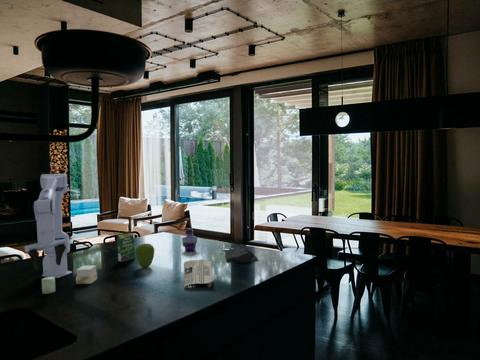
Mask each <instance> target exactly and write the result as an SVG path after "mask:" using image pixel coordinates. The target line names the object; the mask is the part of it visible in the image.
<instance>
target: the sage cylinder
mask: <svg viewBox="0 0 480 360" xmlns="http://www.w3.org/2000/svg"><path fill="white" fill-rule="evenodd" d="M41 292H42V294H44V295H46V294H48V295H49V294H52V293H55V292H56V278H55V277H46V276H45V277H44V278H41Z"/></svg>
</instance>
